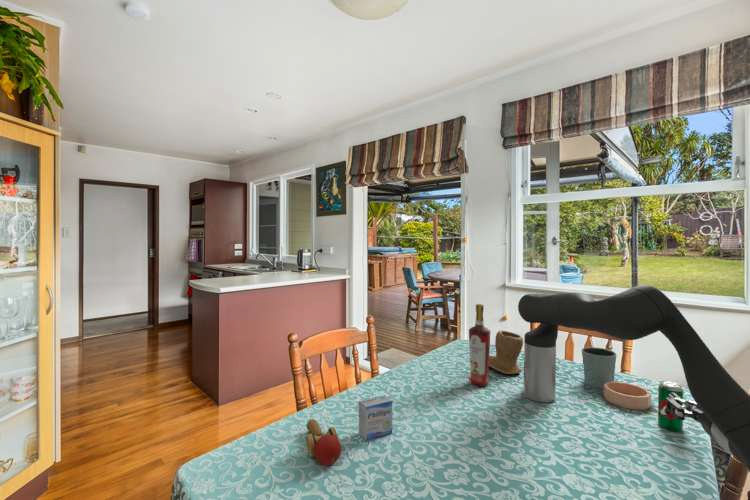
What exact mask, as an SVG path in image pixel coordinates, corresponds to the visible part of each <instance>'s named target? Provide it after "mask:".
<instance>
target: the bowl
mask: <svg viewBox="0 0 750 500" xmlns="http://www.w3.org/2000/svg"><path fill="white" fill-rule="evenodd" d="M603 392H604V398H605V399H606V400H607V401H608V402H610V403H612V404H614V405H617V406H620V407H619V408H621V407H623V408H622V409H629V410H636V411H642V410H646V409H649V408H650V405H651V404H652V393H651V392H650V391H649V390H648V389H646V388H644V387H642V386H640V385H637V384H632V383H629V382H623V381H615V380H614V382H606V383H605V384H604V389H603Z"/></svg>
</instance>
